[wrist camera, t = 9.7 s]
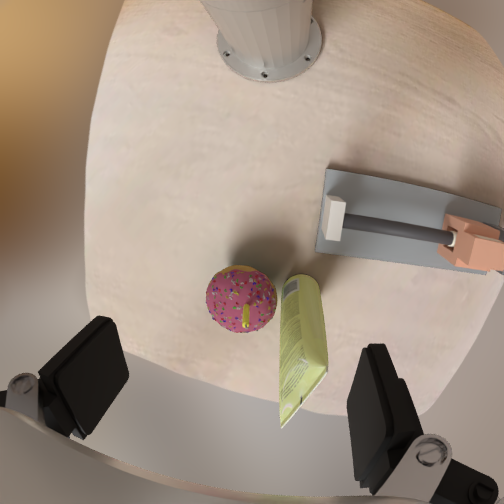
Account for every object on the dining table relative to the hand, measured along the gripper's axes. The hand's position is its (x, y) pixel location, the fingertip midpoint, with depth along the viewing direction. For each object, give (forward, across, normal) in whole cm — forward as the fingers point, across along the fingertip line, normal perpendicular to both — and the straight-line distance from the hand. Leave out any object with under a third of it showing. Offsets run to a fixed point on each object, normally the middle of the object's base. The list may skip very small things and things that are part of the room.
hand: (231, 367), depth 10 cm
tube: (+27, -4, +10) cm, 29 cm away
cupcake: (+27, +4, +9) cm, 29 cm away
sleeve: (+24, -24, 0) cm, 34 cm away
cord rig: (+27, -19, 0) cm, 33 cm away
